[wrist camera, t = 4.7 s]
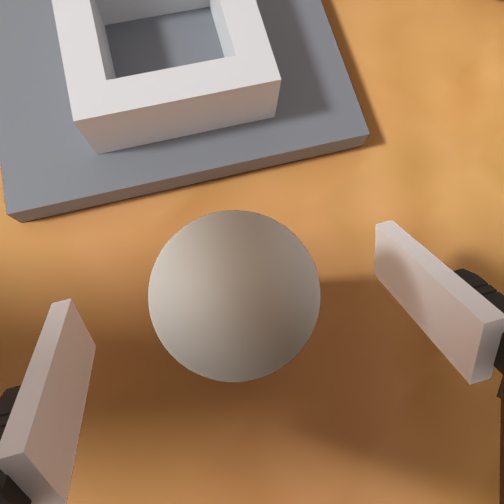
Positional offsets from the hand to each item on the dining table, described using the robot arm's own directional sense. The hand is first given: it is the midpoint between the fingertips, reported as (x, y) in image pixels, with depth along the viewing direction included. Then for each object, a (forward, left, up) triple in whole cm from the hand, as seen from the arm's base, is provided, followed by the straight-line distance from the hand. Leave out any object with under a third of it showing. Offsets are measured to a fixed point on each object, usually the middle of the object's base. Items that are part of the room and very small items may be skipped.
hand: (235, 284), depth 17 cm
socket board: (0, +16, -6) cm, 17 cm away
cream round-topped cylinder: (0, -1, -6) cm, 6 cm away
